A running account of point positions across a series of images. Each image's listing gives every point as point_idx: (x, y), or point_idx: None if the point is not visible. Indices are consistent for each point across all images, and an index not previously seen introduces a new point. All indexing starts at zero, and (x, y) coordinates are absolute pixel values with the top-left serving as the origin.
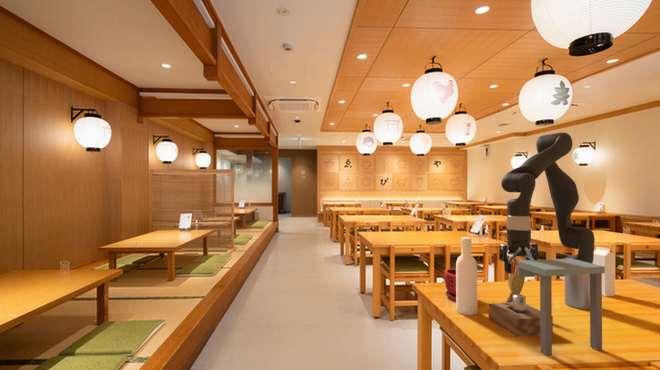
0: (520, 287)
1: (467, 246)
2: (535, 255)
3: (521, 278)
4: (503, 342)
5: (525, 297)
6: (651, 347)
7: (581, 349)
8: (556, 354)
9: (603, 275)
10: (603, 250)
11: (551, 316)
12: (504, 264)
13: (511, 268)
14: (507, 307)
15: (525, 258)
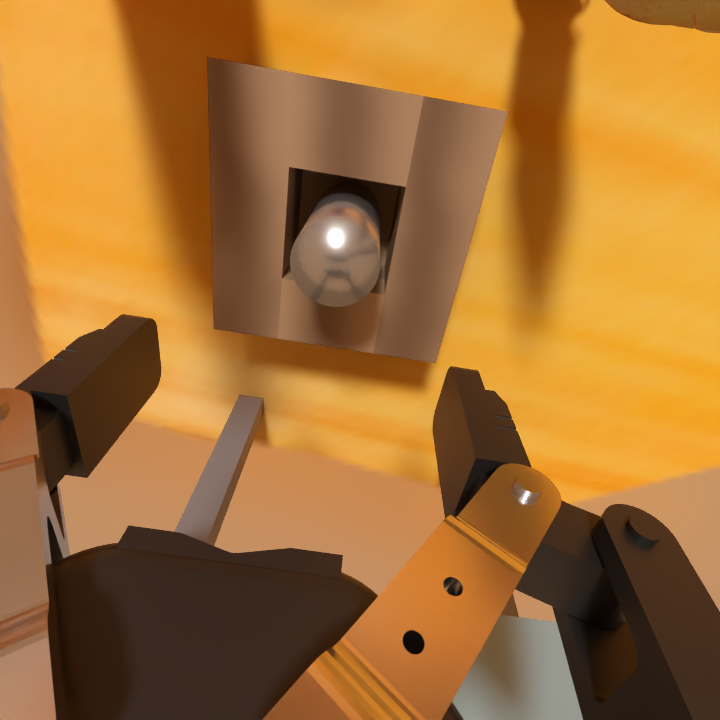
0: (651, 14)
1: None
2: (572, 667)
3: None
4: (150, 305)
5: (355, 302)
6: (638, 481)
7: (400, 424)
8: (283, 417)
9: None
10: None
11: (219, 529)
12: (24, 380)
13: (125, 425)
14: (304, 168)
15: (477, 492)
